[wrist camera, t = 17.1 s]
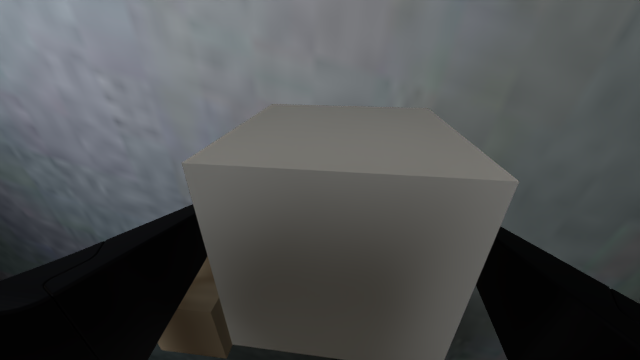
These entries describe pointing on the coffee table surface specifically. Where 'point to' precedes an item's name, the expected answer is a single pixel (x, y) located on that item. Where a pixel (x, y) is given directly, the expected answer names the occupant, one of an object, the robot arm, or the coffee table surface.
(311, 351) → the grey piece
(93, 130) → the coffee table surface
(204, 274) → the brown wooden cube
